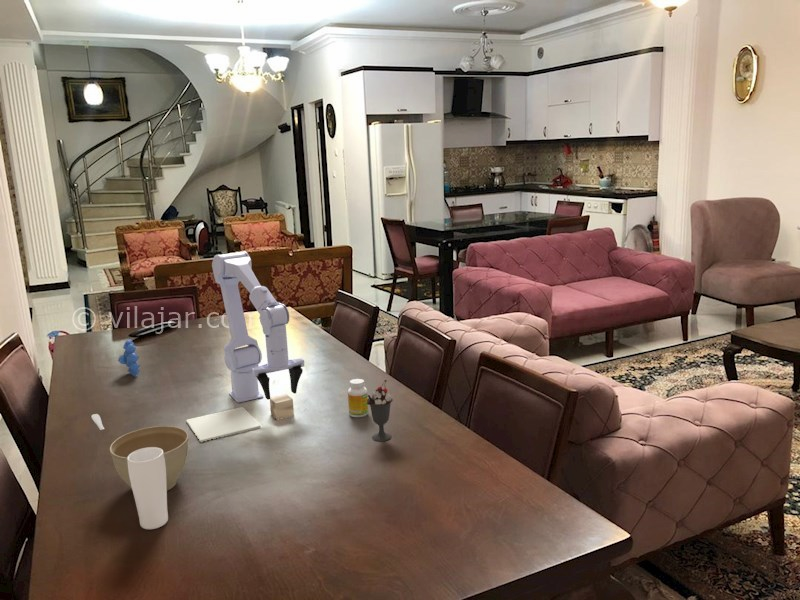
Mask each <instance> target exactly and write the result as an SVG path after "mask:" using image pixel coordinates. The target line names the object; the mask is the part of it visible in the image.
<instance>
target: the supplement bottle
mask: <svg viewBox="0 0 800 600" xmlns="http://www.w3.org/2000/svg"><path fill="white" fill-rule="evenodd" d="M368 395H369V394H368V389H367V388H366V386H365V380H364V379H362V378H353V379H351V380H349V388H348V390H347V401H348V415H349V416H350V417H353V418H364V417H366V416H367V415H368V414H369V405H368V404H367V399H368V398H369V397H368Z"/></svg>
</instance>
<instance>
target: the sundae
mask: <svg viewBox="0 0 800 600" xmlns="http://www.w3.org/2000/svg"><path fill="white" fill-rule="evenodd" d="M387 381H388V380H387V379H384V380H383V383H382V385H381V386H378V387H377V389H375V390H373V392H372V394H371V395H370V394H367V395H368V399H367V404H368V406H369V407H370V411H371V412H370V413H371V416H372V417H371V418H372V420H373V422H374V424H376V425H378V432H377V433H374V434H373V435H372V440H373V441H376V442H387V441H389V440H391V438H392V435H391V433H387V432H385V428H384V427H385V425H386V424H387V423H388V421H389V420H390V419H389V418H390V411H391V404H392V402H393V401H394V399H393V398H392V397H391V395H390V394H389V392H388V389H387V388H386V387H384V388H382V386H384V385H385V384H386V383H387Z"/></svg>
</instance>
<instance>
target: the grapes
mask: <svg viewBox="0 0 800 600" xmlns="http://www.w3.org/2000/svg"><path fill="white" fill-rule="evenodd" d="M122 348H123V349H124V351H123V354H121V355H120V356H119V357H118V360H117V362H119V364H121V365H125V366H126V367H128V369H127V372H128V373H129V374H130V375H132V376H133V377H136V376H138V374H139V373H140V369H139V368H140V364H139V363H138V360H139V357H140V356H139V355H138V354H137V353H135V352H136V349H137V347H136V346H135V343H134V342H133V341H132V340H130V339H127V340H126V341H125V343H124V344H123V346H122Z"/></svg>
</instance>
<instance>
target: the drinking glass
mask: <svg viewBox="0 0 800 600" xmlns="http://www.w3.org/2000/svg"><path fill="white" fill-rule="evenodd" d="M127 462H128V472H129V478H130V482H131V486H132V488H131V491H132V490H133V491H132V493H133V497H134V501H135V506H136V510H137V515H138V519H139V520H138V521H139V525H140V527H141V528H142V529H144V530H155V529H159V528H160V527H163V526H165V525H166V524H167V522H169V521H168V520H169V513H168V491H167V484H166V465H165V458H164V453H163V450H162V449H160V448H157V447H148V448H142V449H139V450H136V451H134V452H132V453H131V454H130V455H129V456H128V457H127Z"/></svg>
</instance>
